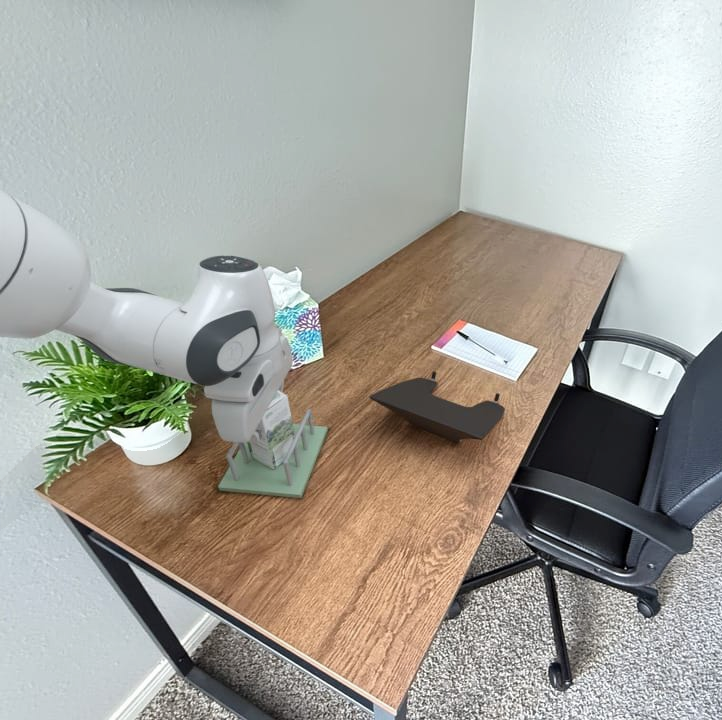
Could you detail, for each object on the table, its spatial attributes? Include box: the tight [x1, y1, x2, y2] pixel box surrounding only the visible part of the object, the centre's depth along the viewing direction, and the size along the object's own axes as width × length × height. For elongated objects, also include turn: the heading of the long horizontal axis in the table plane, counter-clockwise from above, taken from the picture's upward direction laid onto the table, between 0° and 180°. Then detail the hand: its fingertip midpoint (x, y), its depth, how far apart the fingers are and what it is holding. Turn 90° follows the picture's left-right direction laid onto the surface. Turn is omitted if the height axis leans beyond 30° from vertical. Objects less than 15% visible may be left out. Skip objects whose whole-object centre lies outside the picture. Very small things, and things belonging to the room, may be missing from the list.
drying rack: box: [217, 408, 329, 499], centre depth 84 cm, size 16×14×7 cm
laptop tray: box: [369, 370, 506, 444], centre depth 95 cm, size 23×23×9 cm
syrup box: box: [247, 390, 295, 470], centre depth 81 cm, size 6×6×14 cm
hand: (266, 419), depth 79 cm, fingers open, 8 cm apart
